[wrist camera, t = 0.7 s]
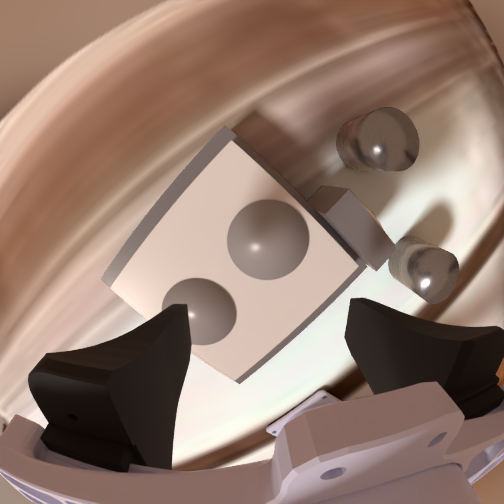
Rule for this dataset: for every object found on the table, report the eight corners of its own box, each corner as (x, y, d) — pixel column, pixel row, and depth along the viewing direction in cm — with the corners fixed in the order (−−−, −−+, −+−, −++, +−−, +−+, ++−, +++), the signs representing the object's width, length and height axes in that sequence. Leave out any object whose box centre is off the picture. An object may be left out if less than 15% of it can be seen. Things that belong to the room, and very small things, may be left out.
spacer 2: (429, 257, 21) (464, 274, 16) (402, 289, 22) (434, 313, 17) (409, 226, 20) (446, 240, 16) (380, 261, 21) (413, 282, 16)
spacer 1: (391, 148, 19) (428, 144, 14) (361, 181, 19) (395, 185, 14) (358, 110, 18) (390, 95, 13) (325, 143, 18) (352, 133, 14)
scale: (371, 232, 20) (405, 248, 16) (238, 361, 23) (240, 401, 18) (250, 109, 17) (255, 87, 13) (116, 265, 20) (87, 289, 15)
